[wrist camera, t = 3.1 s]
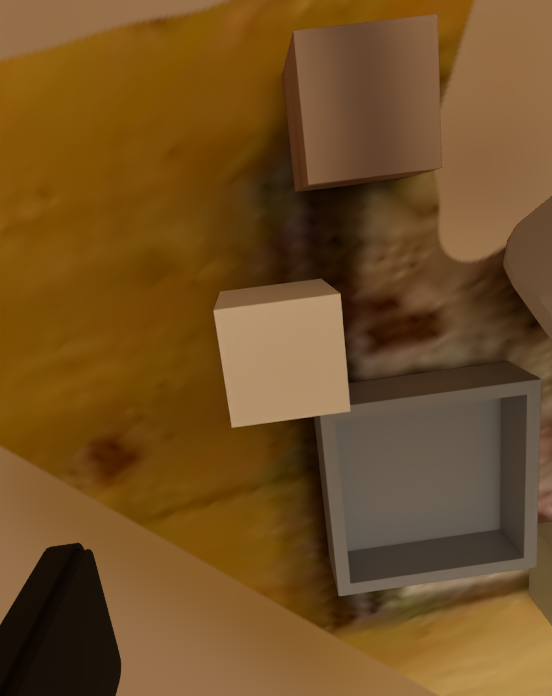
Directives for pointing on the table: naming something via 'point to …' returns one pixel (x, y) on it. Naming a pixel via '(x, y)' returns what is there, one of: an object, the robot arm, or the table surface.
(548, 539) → the sage block
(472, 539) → the grey tray
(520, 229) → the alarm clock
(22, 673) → the robot arm
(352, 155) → the walnut block
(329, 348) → the cream block
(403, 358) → the table surface
